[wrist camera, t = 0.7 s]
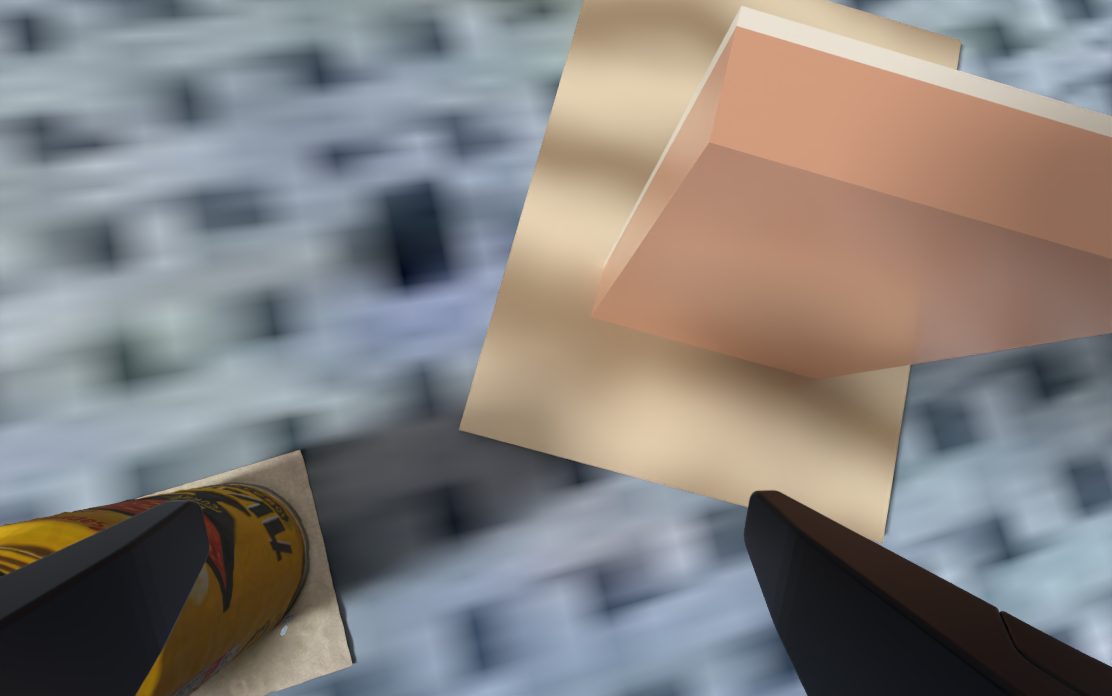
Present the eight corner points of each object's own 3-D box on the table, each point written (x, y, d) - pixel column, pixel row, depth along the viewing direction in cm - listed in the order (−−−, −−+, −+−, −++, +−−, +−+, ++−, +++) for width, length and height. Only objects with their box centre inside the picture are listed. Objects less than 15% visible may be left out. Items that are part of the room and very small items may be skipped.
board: (873, 539, 23) (882, 543, 22) (460, 429, 22) (458, 429, 21) (951, 49, 26) (961, 40, 26) (601, -56, 26) (603, -67, 25)
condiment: (302, 449, 22) (41, 476, 10) (354, 663, 20) (133, 987, 9) (112, 505, 21) (-428, 611, 9) (157, 731, 20) (-386, 1193, 8)
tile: (816, 379, 23) (1277, 307, 9) (590, 317, 22) (709, 142, 9) (826, 322, 23) (1283, 167, 9) (605, 260, 23) (740, 6, 9)
